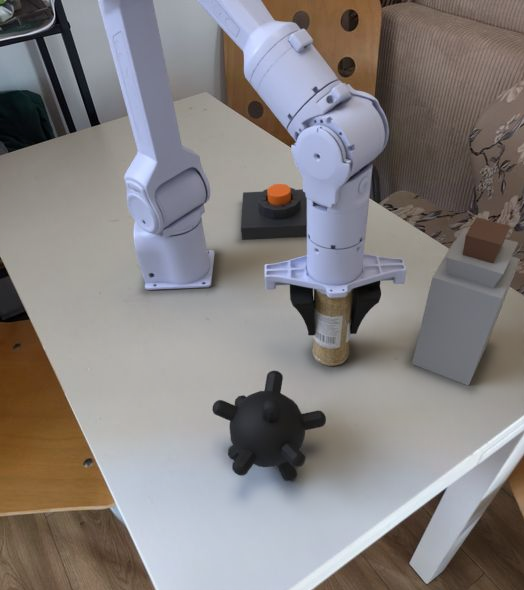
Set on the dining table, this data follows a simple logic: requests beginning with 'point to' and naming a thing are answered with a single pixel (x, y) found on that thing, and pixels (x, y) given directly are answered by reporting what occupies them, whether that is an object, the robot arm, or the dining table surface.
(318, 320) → the spice jar
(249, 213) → the control block
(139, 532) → the dining table surface
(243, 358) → the dining table surface
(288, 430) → the toy ball
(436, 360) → the perfume bottle
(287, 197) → the button
